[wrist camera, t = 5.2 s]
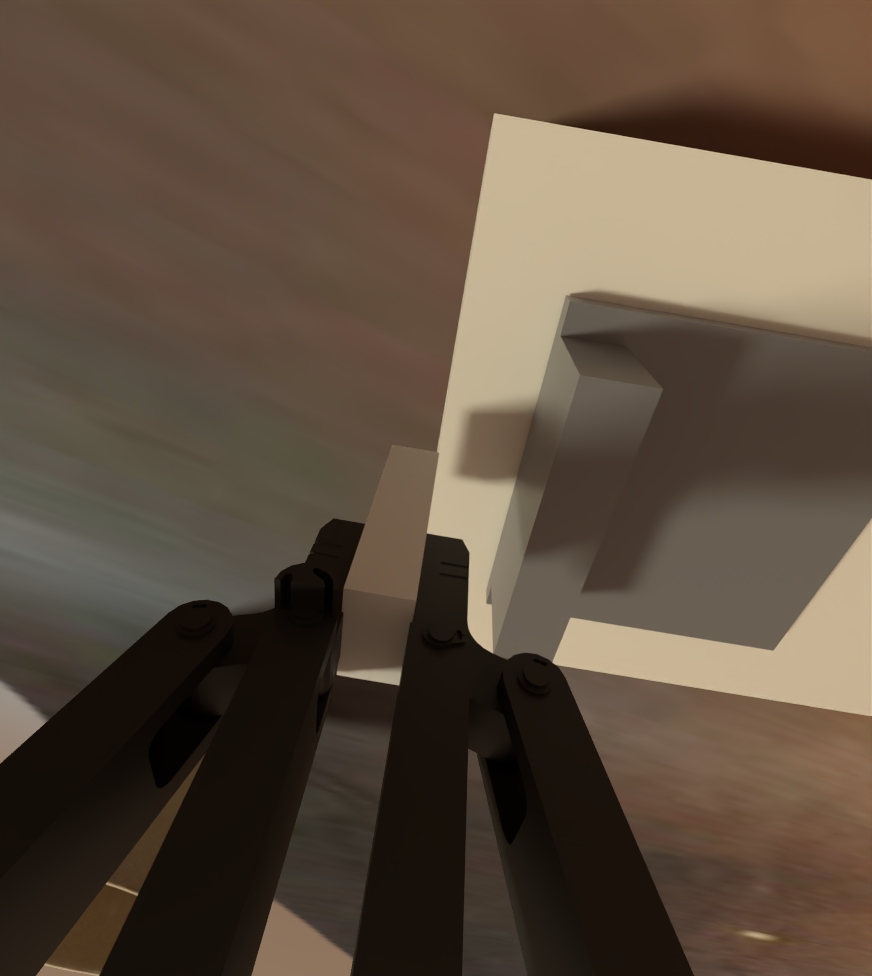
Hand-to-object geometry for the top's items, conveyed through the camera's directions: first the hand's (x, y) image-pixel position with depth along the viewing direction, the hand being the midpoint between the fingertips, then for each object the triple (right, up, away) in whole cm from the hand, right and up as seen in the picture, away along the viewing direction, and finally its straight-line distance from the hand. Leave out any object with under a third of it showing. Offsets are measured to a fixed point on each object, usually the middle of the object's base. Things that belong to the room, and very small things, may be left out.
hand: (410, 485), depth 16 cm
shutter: (+10, 0, +2) cm, 10 cm away
